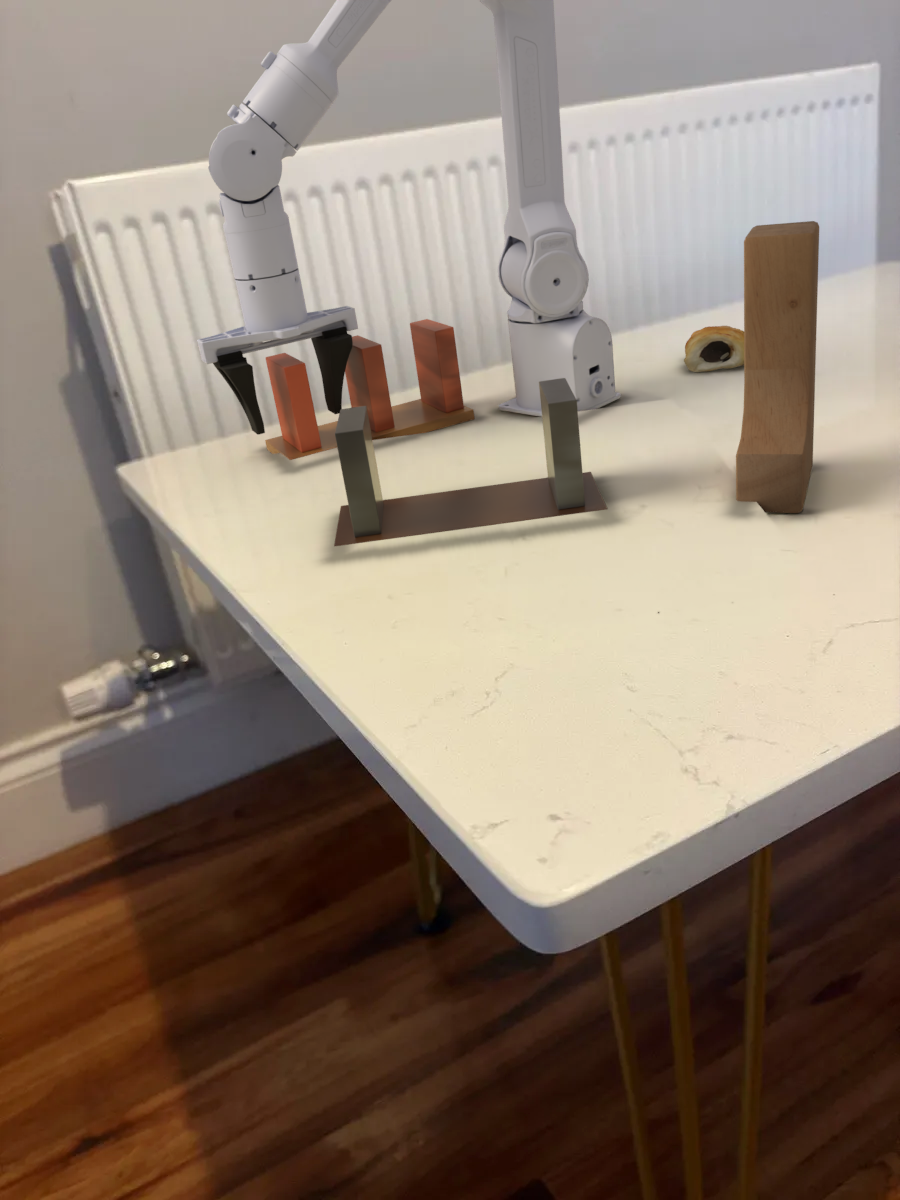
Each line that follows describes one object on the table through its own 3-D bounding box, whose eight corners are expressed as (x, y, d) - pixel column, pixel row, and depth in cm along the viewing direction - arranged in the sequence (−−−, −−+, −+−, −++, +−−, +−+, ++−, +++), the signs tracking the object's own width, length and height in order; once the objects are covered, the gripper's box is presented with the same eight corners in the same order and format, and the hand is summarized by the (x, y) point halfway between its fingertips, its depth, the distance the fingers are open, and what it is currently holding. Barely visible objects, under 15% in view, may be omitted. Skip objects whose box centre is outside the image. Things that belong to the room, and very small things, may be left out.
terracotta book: (301, 433, 101) (285, 352, 97) (322, 447, 96) (305, 362, 92) (282, 438, 100) (265, 357, 96) (301, 452, 95) (284, 367, 91)
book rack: (440, 403, 107) (427, 316, 103) (474, 419, 100) (463, 327, 96) (266, 449, 101) (246, 359, 97) (292, 470, 94) (271, 373, 90)
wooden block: (802, 515, 71) (809, 243, 63) (735, 513, 72) (733, 249, 64) (812, 468, 78) (820, 219, 70) (751, 467, 80) (751, 225, 72)
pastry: (688, 350, 112) (688, 314, 111) (752, 346, 111) (753, 310, 109) (683, 374, 105) (682, 336, 103) (752, 370, 103) (753, 332, 101)
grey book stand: (591, 483, 81) (583, 371, 77) (608, 521, 74) (600, 400, 70) (342, 517, 82) (321, 408, 78) (335, 558, 75) (312, 440, 71)
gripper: (197, 295, 85) (234, 451, 91) (358, 261, 90) (383, 411, 96) (178, 286, 91) (215, 433, 97) (331, 255, 96) (356, 396, 102)
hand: (297, 421), depth 97 cm, fingers open, 7 cm apart
